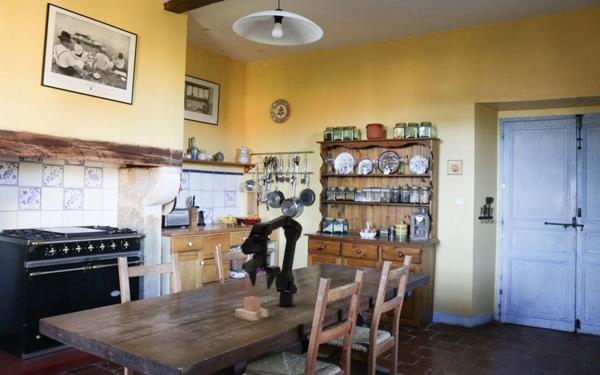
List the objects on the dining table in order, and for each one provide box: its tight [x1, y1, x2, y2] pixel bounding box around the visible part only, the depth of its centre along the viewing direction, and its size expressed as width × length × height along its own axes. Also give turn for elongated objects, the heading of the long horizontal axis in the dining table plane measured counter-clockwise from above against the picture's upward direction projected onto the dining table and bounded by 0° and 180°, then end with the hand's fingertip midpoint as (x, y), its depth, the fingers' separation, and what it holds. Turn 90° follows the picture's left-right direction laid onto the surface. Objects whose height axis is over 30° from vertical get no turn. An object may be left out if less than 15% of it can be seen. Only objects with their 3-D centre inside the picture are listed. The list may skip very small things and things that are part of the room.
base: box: [234, 307, 269, 322], centre depth 206 cm, size 10×10×3 cm
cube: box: [243, 295, 261, 312], centre depth 206 cm, size 5×5×5 cm
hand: (260, 287), depth 211 cm, fingers open, 9 cm apart
